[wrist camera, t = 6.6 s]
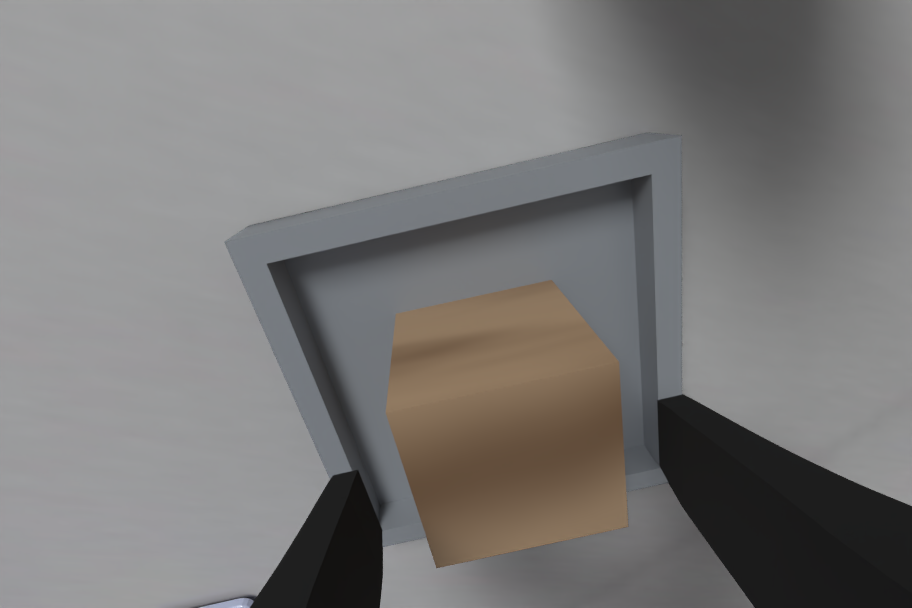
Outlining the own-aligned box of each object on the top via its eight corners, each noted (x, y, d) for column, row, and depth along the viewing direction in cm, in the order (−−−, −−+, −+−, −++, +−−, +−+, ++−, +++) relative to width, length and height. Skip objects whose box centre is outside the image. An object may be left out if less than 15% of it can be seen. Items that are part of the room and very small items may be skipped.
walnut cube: (566, 407, 16) (628, 526, 11) (430, 436, 16) (436, 568, 11) (551, 279, 14) (619, 361, 9) (396, 313, 14) (385, 412, 9)
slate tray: (657, 445, 18) (682, 479, 16) (367, 511, 18) (362, 551, 16) (647, 132, 13) (681, 135, 11) (248, 225, 13) (224, 242, 11)
